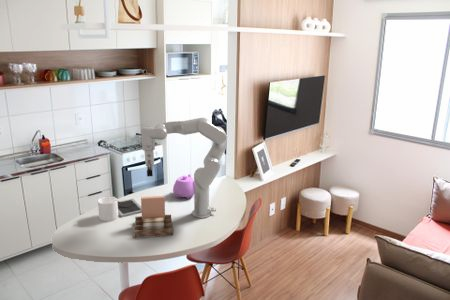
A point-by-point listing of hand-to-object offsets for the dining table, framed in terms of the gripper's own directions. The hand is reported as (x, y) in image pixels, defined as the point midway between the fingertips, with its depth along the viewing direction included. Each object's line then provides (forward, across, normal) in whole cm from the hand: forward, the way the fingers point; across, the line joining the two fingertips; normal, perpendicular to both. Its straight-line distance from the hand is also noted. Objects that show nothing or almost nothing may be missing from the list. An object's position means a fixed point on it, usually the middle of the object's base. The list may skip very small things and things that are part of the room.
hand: (149, 173), depth 242 cm
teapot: (+31, +32, -26) cm, 51 cm away
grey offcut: (+30, -21, -1) cm, 37 cm away
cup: (+30, +3, +27) cm, 40 cm away
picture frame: (+31, +14, +16) cm, 37 cm away
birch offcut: (+30, -15, -1) cm, 34 cm away
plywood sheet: (+30, -10, -1) cm, 31 cm away
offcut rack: (+30, -16, -1) cm, 34 cm away
